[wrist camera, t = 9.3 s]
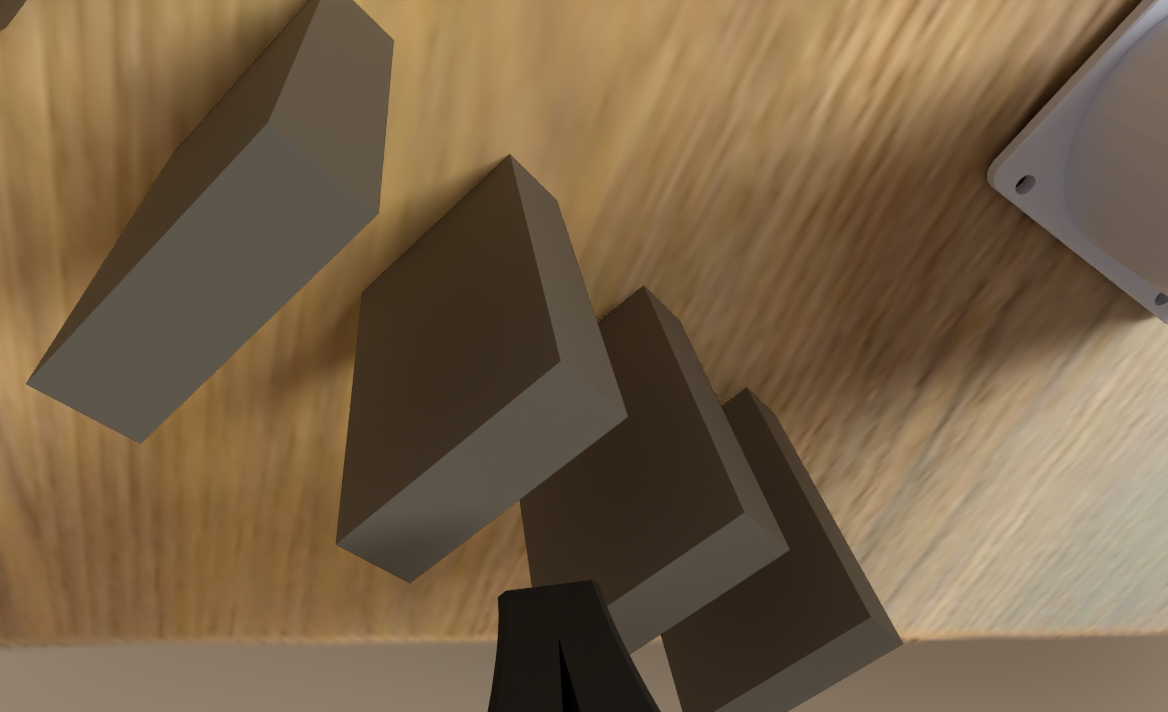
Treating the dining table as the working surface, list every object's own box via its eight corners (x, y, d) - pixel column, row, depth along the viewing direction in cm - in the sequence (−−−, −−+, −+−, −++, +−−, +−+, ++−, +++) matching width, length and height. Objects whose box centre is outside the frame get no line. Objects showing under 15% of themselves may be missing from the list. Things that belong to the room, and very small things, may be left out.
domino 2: (556, 200, 19) (627, 416, 13) (412, 329, 20) (409, 583, 14) (510, 154, 18) (561, 361, 12) (362, 292, 20) (335, 544, 13)
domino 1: (393, 40, 16) (378, 212, 10) (239, 201, 18) (140, 443, 11) (329, -23, 15) (268, 121, 9) (173, 152, 17) (25, 384, 10)
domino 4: (775, 415, 24) (903, 644, 18) (648, 506, 26) (725, 748, 19) (747, 387, 23) (871, 617, 17) (617, 483, 25) (687, 728, 18)
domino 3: (679, 321, 22) (790, 550, 15) (543, 428, 23) (593, 678, 17) (643, 285, 21) (745, 512, 14) (505, 399, 22) (540, 651, 16)
